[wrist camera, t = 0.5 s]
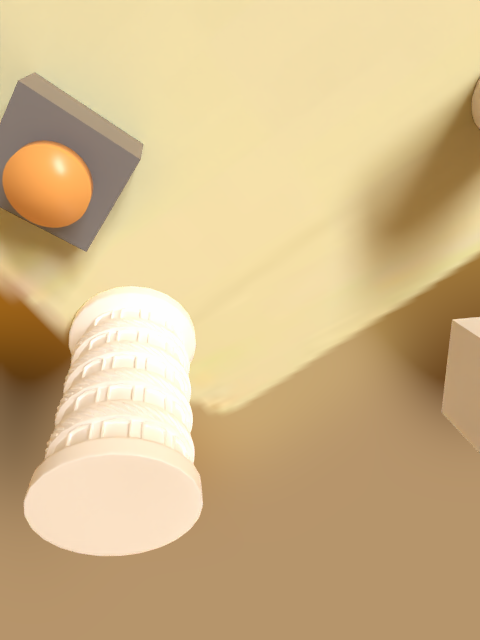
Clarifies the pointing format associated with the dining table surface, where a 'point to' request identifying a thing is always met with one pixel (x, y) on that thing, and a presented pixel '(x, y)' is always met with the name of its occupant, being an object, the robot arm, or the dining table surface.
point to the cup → (476, 104)
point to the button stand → (79, 135)
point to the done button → (48, 184)
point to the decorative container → (121, 431)
